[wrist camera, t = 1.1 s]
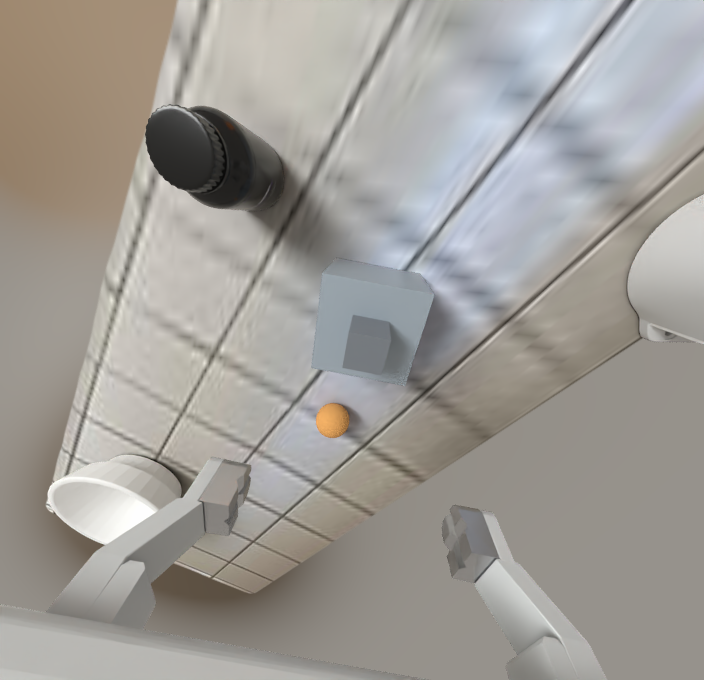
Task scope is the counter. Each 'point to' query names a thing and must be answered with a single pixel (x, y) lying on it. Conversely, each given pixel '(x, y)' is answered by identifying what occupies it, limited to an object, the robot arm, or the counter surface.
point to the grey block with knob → (370, 320)
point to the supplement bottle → (214, 158)
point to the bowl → (113, 495)
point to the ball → (332, 420)
